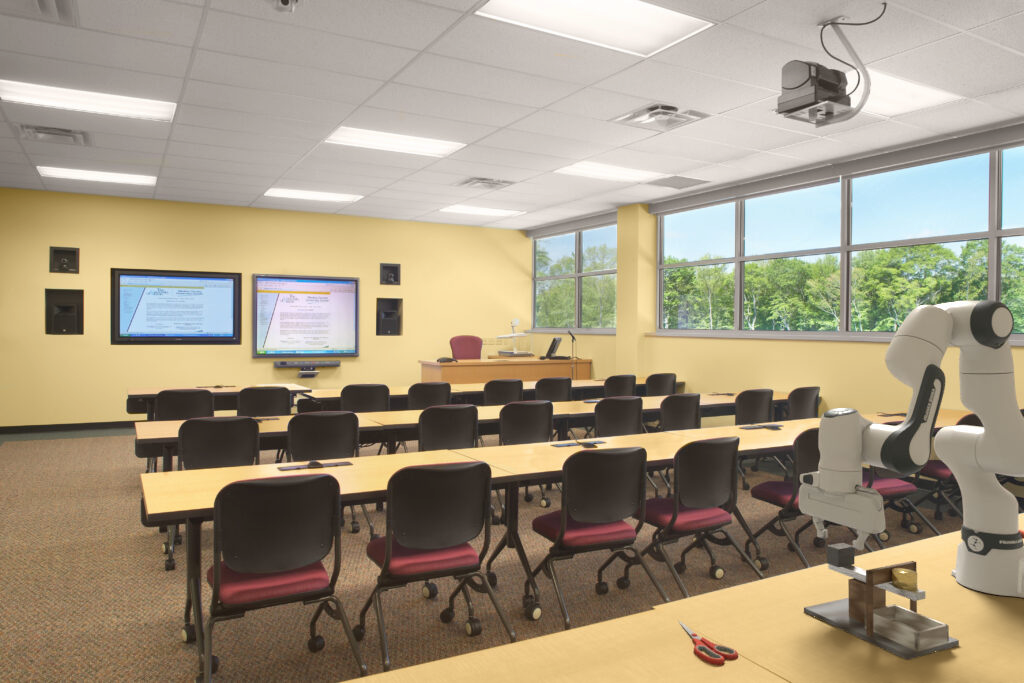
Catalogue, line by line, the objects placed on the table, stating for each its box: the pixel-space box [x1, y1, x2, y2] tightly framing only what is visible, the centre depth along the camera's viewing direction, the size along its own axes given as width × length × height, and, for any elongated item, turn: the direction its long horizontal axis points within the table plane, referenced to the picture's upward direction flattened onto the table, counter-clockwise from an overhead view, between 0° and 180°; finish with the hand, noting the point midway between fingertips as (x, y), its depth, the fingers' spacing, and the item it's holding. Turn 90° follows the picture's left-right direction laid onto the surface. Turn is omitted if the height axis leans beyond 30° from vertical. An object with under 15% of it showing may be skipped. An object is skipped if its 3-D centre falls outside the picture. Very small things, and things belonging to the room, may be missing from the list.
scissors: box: [678, 620, 739, 666], centre depth 134 cm, size 8×21×2 cm, turn 22°
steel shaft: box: [826, 542, 926, 601], centre depth 140 cm, size 20×5×6 cm, turn 23°
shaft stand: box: [803, 560, 960, 661], centre depth 139 cm, size 24×15×14 cm, turn 23°
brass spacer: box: [892, 568, 918, 591], centre depth 133 cm, size 4×4×3 cm
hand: (839, 543), depth 147 cm, fingers open, 8 cm apart
